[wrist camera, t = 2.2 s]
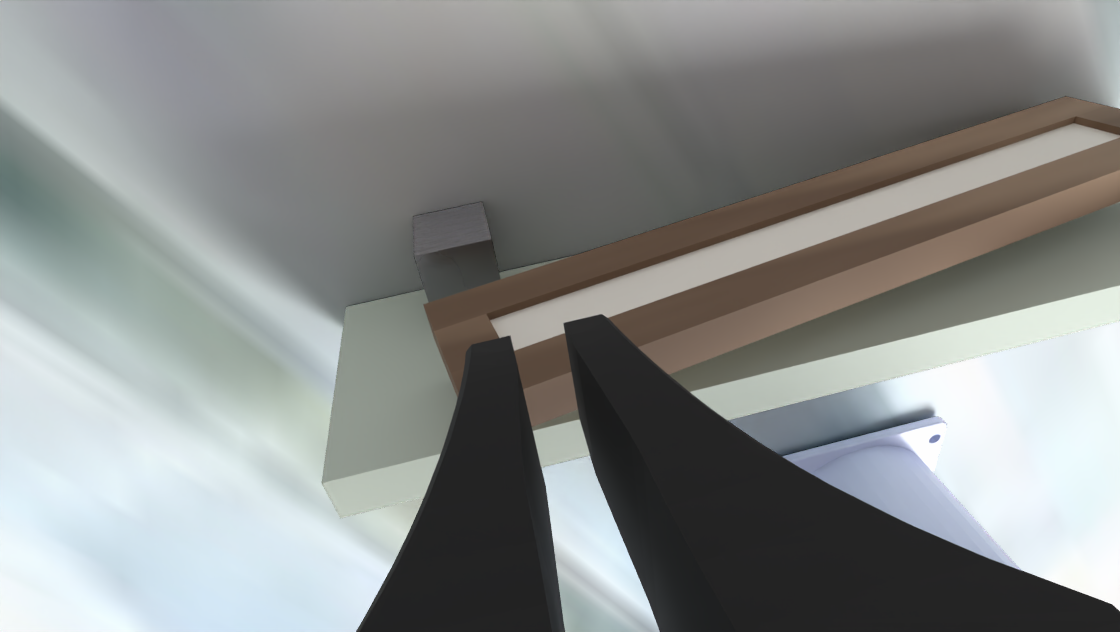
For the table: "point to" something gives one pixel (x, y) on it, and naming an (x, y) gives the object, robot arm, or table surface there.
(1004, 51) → the table surface
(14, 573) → the table surface
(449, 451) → the robot arm
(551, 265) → the grooved wooden rail
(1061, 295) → the wall panel
